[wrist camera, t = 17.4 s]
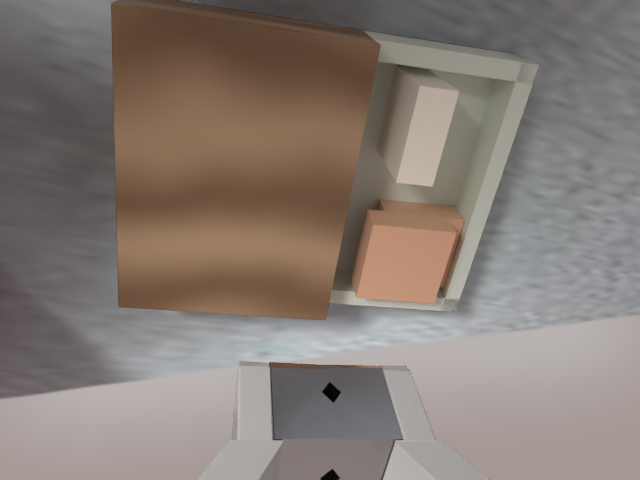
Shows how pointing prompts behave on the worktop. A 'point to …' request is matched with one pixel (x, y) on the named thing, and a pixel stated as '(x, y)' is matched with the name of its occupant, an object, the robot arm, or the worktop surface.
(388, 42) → the tray
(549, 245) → the worktop surface
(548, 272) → the worktop surface
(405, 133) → the tile
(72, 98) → the worktop surface
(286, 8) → the worktop surface
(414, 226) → the tile
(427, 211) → the tile
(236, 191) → the wooden box
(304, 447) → the robot arm
